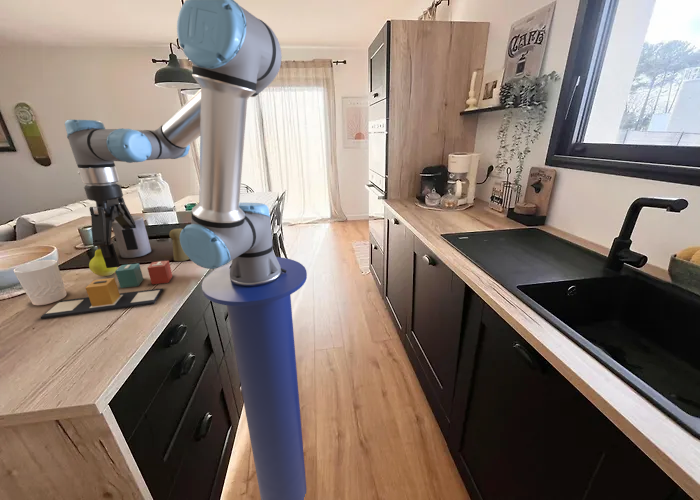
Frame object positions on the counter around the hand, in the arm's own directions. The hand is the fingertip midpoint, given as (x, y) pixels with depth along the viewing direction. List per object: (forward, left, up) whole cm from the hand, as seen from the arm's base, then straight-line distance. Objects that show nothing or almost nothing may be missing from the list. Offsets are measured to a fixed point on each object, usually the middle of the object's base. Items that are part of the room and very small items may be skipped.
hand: (123, 257), depth 83 cm
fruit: (+10, -9, -9) cm, 16 cm away
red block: (-8, 0, -9) cm, 12 cm away
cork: (-10, -18, -9) cm, 22 cm away
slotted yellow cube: (+2, +11, -8) cm, 14 cm away
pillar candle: (+8, -28, -9) cm, 30 cm away
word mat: (+2, +11, -9) cm, 14 cm away
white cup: (+18, +4, -9) cm, 20 cm away
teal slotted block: (0, 0, -9) cm, 9 cm away
